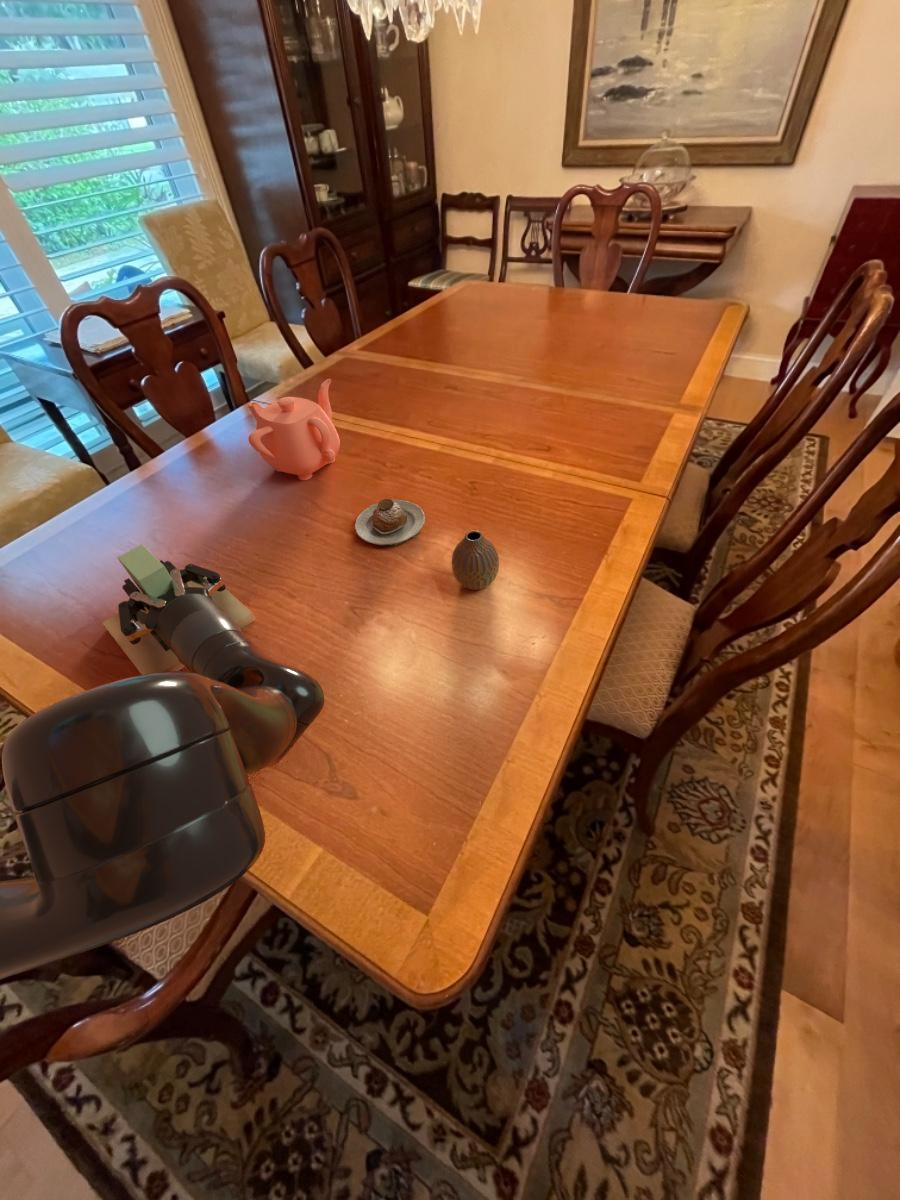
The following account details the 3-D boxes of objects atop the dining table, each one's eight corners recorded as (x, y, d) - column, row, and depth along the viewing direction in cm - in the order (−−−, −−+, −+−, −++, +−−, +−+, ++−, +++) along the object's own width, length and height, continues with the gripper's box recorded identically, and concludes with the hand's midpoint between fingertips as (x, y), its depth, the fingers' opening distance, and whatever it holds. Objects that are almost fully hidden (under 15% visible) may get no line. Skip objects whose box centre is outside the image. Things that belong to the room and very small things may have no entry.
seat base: (152, 688, 71) (139, 672, 69) (107, 629, 80) (94, 613, 77) (255, 619, 78) (247, 603, 76) (204, 572, 87) (195, 555, 84)
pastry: (414, 498, 96) (411, 476, 93) (434, 537, 88) (431, 515, 85) (350, 515, 94) (344, 493, 91) (364, 557, 86) (358, 534, 83)
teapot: (265, 451, 112) (242, 388, 103) (344, 435, 114) (329, 373, 105) (265, 493, 101) (240, 427, 92) (353, 475, 103) (338, 409, 94)
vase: (500, 596, 78) (499, 550, 72) (453, 598, 78) (448, 553, 72) (498, 563, 83) (497, 518, 76) (453, 566, 83) (449, 521, 77)
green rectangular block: (177, 636, 75) (138, 580, 67) (156, 612, 79) (116, 557, 71) (199, 622, 77) (164, 566, 69) (178, 599, 81) (142, 543, 73)
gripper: (243, 583, 66) (181, 528, 75) (132, 652, 60) (78, 583, 69) (263, 623, 71) (203, 567, 80) (163, 690, 65) (109, 621, 74)
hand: (145, 575), depth 74 cm, fingers open, 4 cm apart
